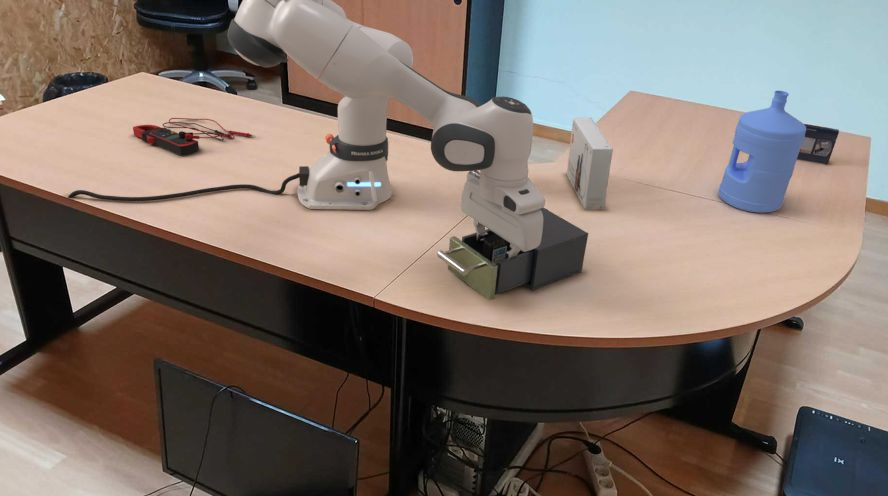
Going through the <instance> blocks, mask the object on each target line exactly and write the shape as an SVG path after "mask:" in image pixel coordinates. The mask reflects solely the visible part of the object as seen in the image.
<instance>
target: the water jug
mask: <svg viewBox="0 0 888 496" xmlns="http://www.w3.org/2000/svg"><path fill="white" fill-rule="evenodd" d="M789 95H790V93H789V92H787V91H784V90H775V91H774V95H773V98H772V100H771V104H770V106H769V107H767V108H761V109H757V110H751V111H746V112H744V113H742V114H741V115H740V116H739V118H738V122H737V124H736V127H735V130H734V136H733V139H732V145H733V146H732V150H731V154H730V157H729V160H728V165H727V166H726V167H725V169H724V172H723V176H722V179H721V183H720V184H719V188H718V195H719V198H720V199H721V200H722V201H724V203H726V204H727V205H729V206H731V207H734V208H735V209H738V210H742V211H745V212H751V213H757V214H758V213H760V214H768V213H773V212H776V211H778V210H780V209H781V207H783V204H784V202H785V196H786V193H787V190H788V188H789V184H790V181H791V178H792V177H793V174H794V171H795V166H796V163H797V160H798V159H797V157H798V154H799V151H800V148H801V146H802V144H803V141H804V137H805V133H806V126H805V125H804V124H805V123H803V121H800V120H799V119H798V118H796V117H795V116H793V115H792V114H790V113H789V112H787V111H786V110H785V107H786V104H787V102H788V97H789ZM740 152H742V153H744V154H747V155H748V157H747V160H746V161H744V162H738V159H739V155H740Z"/></svg>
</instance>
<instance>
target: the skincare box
mask: <svg viewBox="0 0 888 496" xmlns="http://www.w3.org/2000/svg"><path fill="white" fill-rule="evenodd" d="M613 151H614V148H613V146H612V145H611V144H610V142H609V141H608V140H607V137H606V136H605V135H604V133H603V132H602V130H601V129H600V128H599V127H598V125H597V123H596V122H595V121H594V118H592V117H591V116H590V117H573V118H572V125H571V133H570V141H569V150H568V159H567V166H566V167H567V168H566V176H567V178H568V180H569V182H570V184H571V186H572V187H573V190H574V191H575V194H576V195H577V197H578V199H579V202H580V203H581V205H582V207H583V209H584V210H587V211H589V210H590V211H591V210H592V211H593V210H596V211H597V210H598V211H599V210H600V211H601V210H602V211H603V210H605V206H606V198H607V190H608V186H609V178H610V170H611V164H612V158H613Z"/></svg>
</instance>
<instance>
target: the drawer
mask: <svg viewBox="0 0 888 496" xmlns="http://www.w3.org/2000/svg"><path fill="white" fill-rule="evenodd" d="M485 230H486V232H487V233H488V236H490V235H491V236H492V235H495V234H496V233H494V232H492V231H491V230H489V229H488V228H485ZM476 236H477V232H474V233H470V234H467V235H463V236H462V238H461V239H460V238H458V237H457V236H456V235H454V236H451V237H449V247H448V250H445V251H444V250H442V249H441V250H438V252H437V255H436V257H438V258H439V259H440V260H442V261H443V262H444V263H446V264H447V270H448V271H449V272H450V273H453V275H454V276H456V277H457V278H459V279H460V280H461V281H463V282H464V283H465V284H467V285H468V286H469V287H470V288H472V289H474V290H475V291H476V292H477V293H478V294H480V295H481V296H483V297H484V298H485V299H487V300H488V301H493V300H494V299H495V295H496V294H497V295H498V294H501V293H503V292H506V291H509V290H513V289H514V288H517V287H520V286H523V285H524V284H526V283H528V282H531V279H532V272H533V265H534V257H535V252H534V251H533V250H530V251H526V252H523V251H522V250H520V251H519V253H517V256H514V257H511V258H508V259H505V260H502V261H499V262H498V266H497V265H495V264H494V263H493V262H491V261H490V260H488V259H487V258H485V257H484V256H482V254H483V245H484V242H483V243H481V242H479V241H478V240H476ZM511 249H512V248H511V247H510V248H509V251H510V250H511ZM497 268H498V269H497Z"/></svg>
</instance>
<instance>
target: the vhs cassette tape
mask: <svg viewBox="0 0 888 496" xmlns="http://www.w3.org/2000/svg"><path fill="white" fill-rule="evenodd" d="M803 124H804V125H805V126H806V133H805V137H804V141H803V144H802V146H801V148H800V151H799V154H798V157H797V160H800V161H805V162H811V163H816V164H822V165H828V164H829V162H830V160H831V156H832V155H833V151H834V148H835V145H836V144H837V143H836V142H837V140H838V137H839V133H840V130H839V129H838V128H832V127H828V126H827V127H826V126H819V125H814V124H808V123H803Z"/></svg>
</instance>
